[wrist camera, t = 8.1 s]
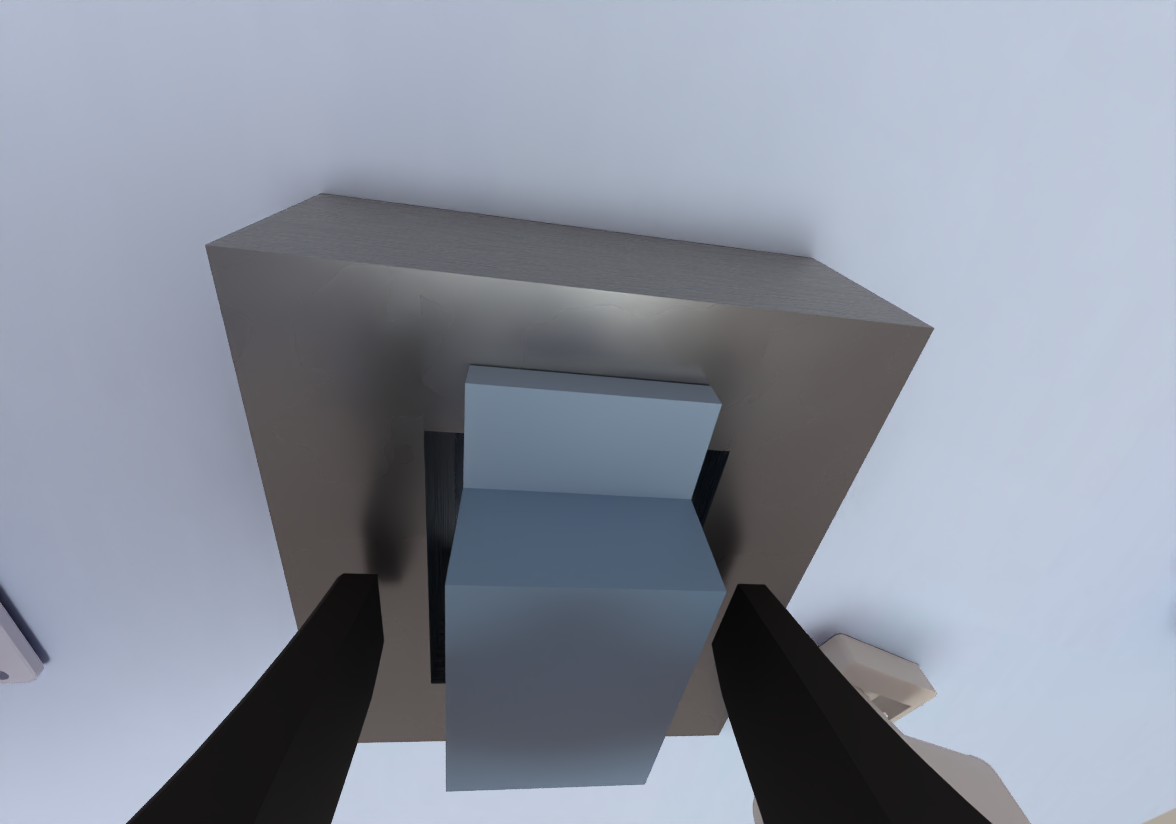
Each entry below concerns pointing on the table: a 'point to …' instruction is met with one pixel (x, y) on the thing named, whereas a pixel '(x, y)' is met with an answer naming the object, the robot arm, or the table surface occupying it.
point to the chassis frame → (540, 343)
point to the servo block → (574, 577)
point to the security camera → (896, 694)
